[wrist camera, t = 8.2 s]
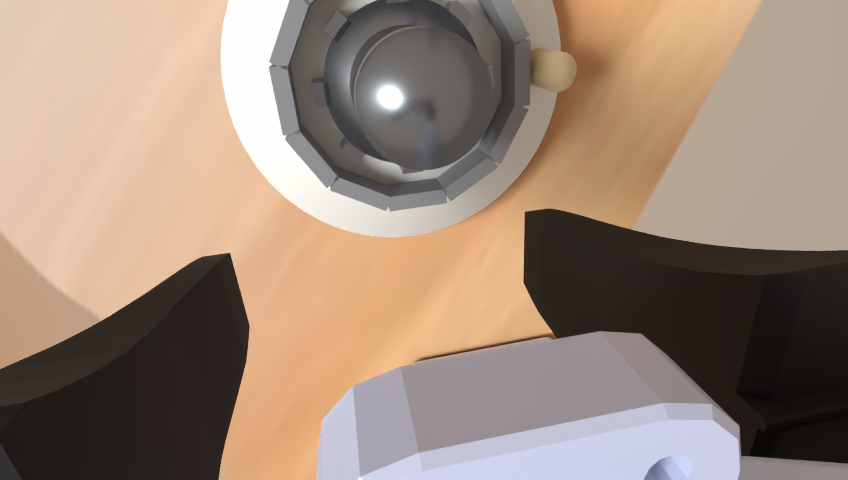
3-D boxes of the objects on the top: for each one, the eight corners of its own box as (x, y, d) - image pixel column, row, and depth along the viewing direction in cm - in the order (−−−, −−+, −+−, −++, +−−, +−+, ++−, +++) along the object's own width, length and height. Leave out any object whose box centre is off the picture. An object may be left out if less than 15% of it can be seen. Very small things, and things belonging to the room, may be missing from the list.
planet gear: (485, 154, 21) (533, 194, 16) (327, 174, 20) (329, 224, 15) (481, -23, 18) (537, -37, 13) (297, -9, 17) (287, -17, 12)
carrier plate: (546, 206, 23) (575, 230, 21) (268, 248, 22) (260, 281, 19) (555, -128, 18) (597, -153, 15) (180, -106, 16) (152, -131, 13)
